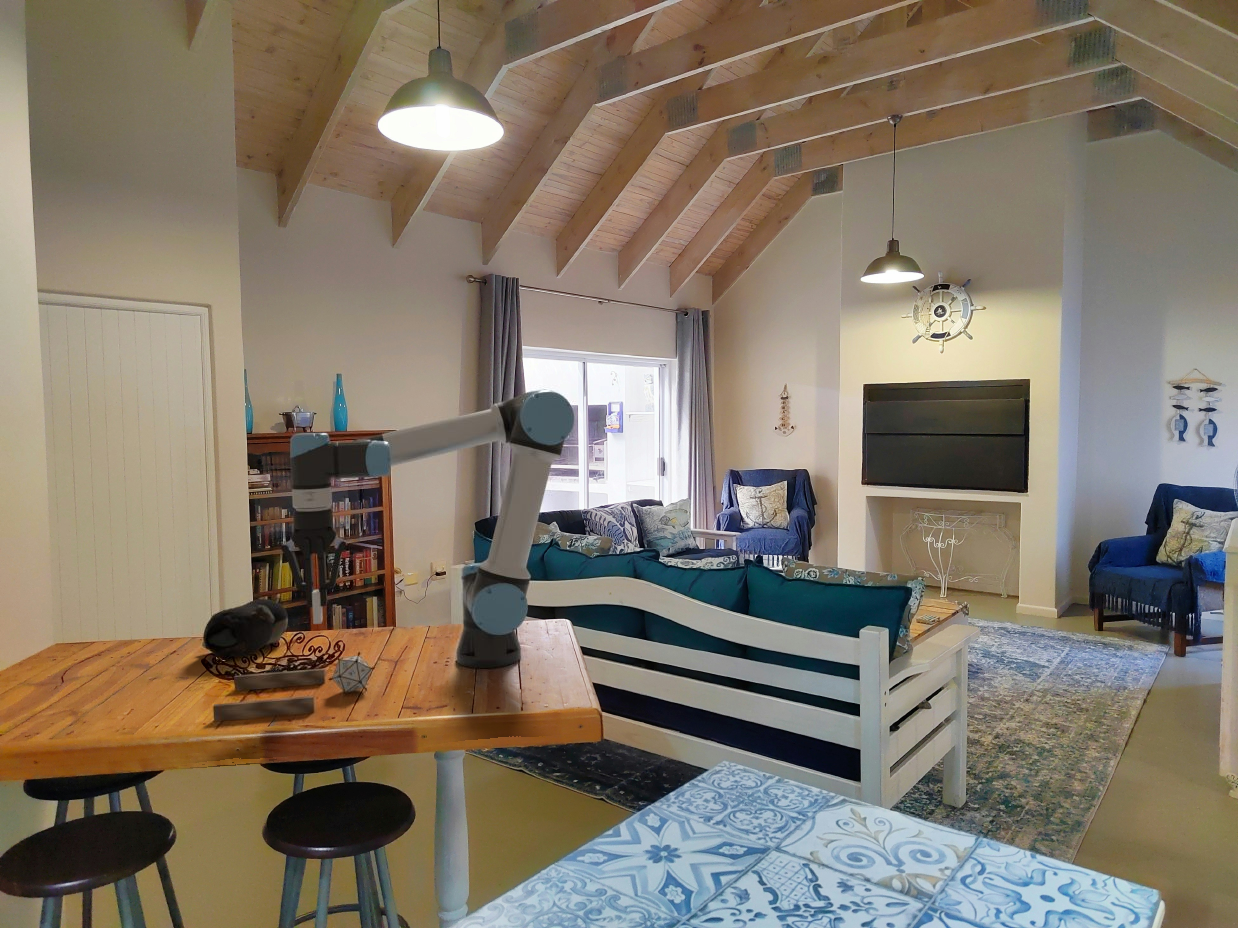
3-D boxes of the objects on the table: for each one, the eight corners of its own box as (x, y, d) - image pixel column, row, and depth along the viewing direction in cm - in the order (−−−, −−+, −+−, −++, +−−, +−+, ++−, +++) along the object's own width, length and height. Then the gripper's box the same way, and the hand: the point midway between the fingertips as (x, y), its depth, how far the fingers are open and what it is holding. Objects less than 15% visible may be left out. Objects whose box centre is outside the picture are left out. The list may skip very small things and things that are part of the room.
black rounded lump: (201, 683, 189) (174, 634, 188) (254, 652, 209) (230, 607, 209) (267, 651, 185) (240, 600, 184) (314, 622, 205) (290, 577, 205)
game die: (360, 709, 167) (371, 680, 162) (320, 699, 165) (331, 669, 160) (371, 677, 174) (382, 648, 169) (333, 666, 172) (343, 637, 167)
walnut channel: (325, 681, 173) (324, 668, 173) (313, 712, 156) (313, 697, 156) (235, 689, 169) (235, 675, 169) (213, 721, 152) (213, 706, 152)
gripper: (275, 512, 157) (281, 629, 158) (344, 509, 160) (349, 624, 161) (281, 507, 164) (287, 619, 166) (348, 504, 167) (352, 614, 169)
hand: (318, 621), depth 164 cm, fingers closed
